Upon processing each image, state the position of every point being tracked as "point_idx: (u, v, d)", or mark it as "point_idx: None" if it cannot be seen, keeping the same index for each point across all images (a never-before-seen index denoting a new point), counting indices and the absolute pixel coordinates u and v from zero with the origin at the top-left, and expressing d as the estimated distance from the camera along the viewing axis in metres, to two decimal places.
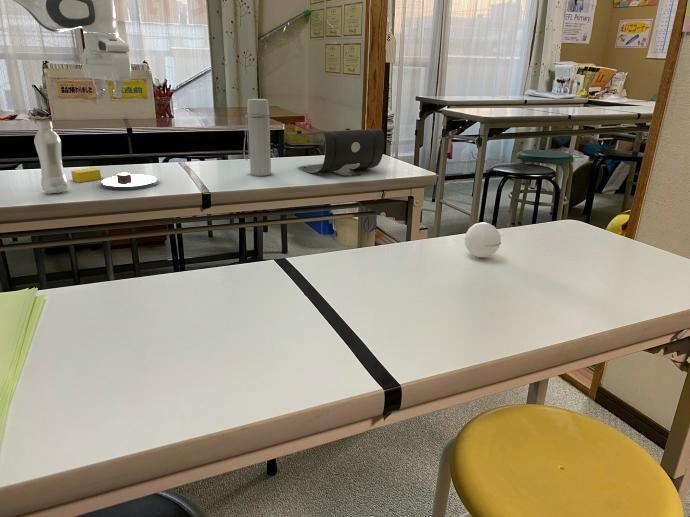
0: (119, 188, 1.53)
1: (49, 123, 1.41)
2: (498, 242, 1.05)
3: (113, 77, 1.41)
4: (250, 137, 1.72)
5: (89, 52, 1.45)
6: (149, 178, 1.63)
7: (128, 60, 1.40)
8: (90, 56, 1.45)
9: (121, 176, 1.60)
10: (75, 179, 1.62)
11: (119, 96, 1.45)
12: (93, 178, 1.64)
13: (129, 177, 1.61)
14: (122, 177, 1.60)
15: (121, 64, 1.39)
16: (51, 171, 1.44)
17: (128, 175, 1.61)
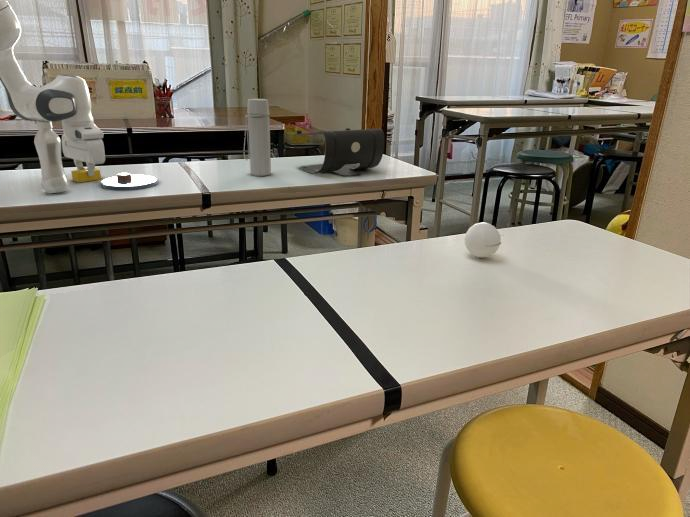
0: (119, 188, 1.53)
1: (49, 123, 1.41)
2: (498, 242, 1.05)
3: (89, 161, 1.56)
4: (250, 137, 1.72)
5: None
6: (149, 178, 1.63)
7: (102, 146, 1.56)
8: (68, 139, 1.61)
9: (121, 176, 1.60)
10: (75, 179, 1.62)
11: (92, 175, 1.62)
12: (93, 178, 1.64)
13: (129, 177, 1.61)
14: (122, 177, 1.60)
15: (96, 150, 1.55)
16: (51, 171, 1.44)
17: (128, 175, 1.61)
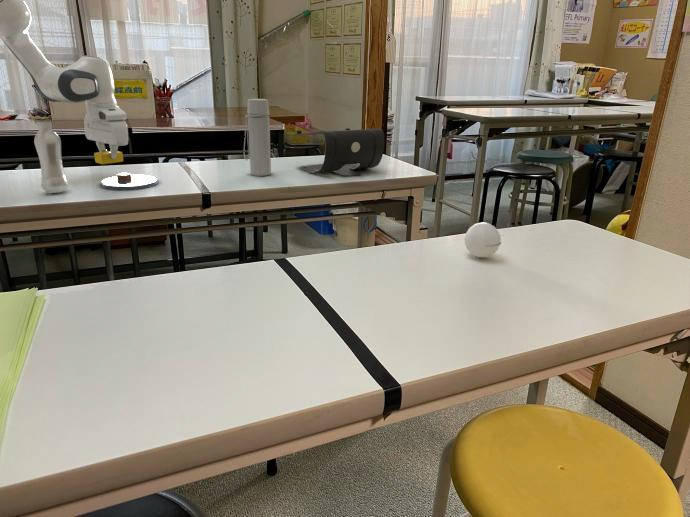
0: (119, 188, 1.53)
1: (49, 123, 1.41)
2: (498, 242, 1.05)
3: (112, 142, 1.57)
4: (250, 137, 1.72)
5: None
6: (149, 178, 1.63)
7: (125, 127, 1.56)
8: (91, 121, 1.61)
9: (121, 176, 1.60)
10: (98, 161, 1.62)
11: (114, 157, 1.62)
12: (116, 160, 1.64)
13: (129, 177, 1.61)
14: (122, 177, 1.60)
15: (119, 131, 1.55)
16: (51, 171, 1.44)
17: (128, 175, 1.61)
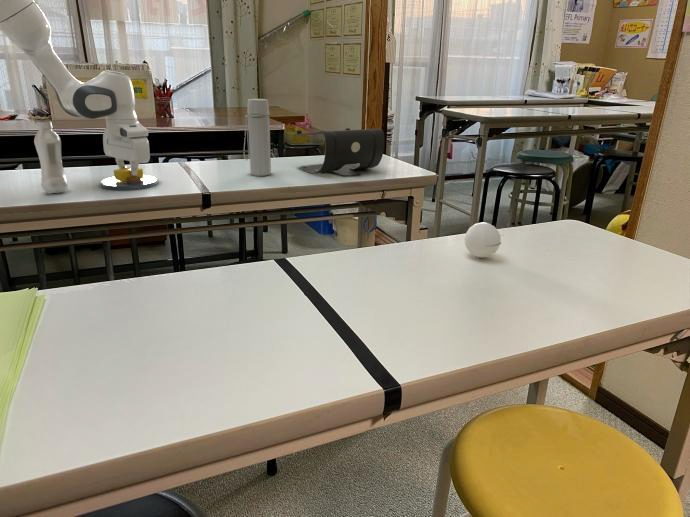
0: (119, 188, 1.53)
1: (49, 123, 1.41)
2: (498, 242, 1.05)
3: (133, 159, 1.52)
4: (250, 137, 1.72)
5: None
6: (149, 178, 1.63)
7: (147, 144, 1.52)
8: (111, 138, 1.56)
9: (130, 179, 1.56)
10: (118, 178, 1.57)
11: (135, 174, 1.57)
12: None
13: (138, 181, 1.57)
14: (130, 180, 1.56)
15: (141, 148, 1.50)
16: (51, 171, 1.44)
17: (137, 179, 1.56)
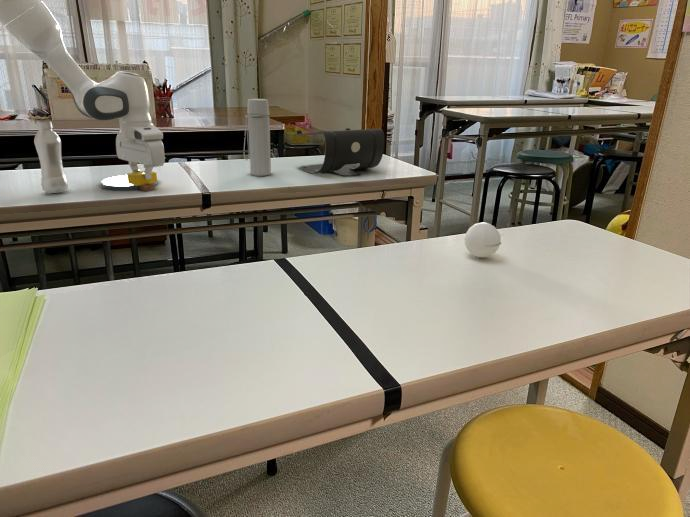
0: (119, 188, 1.53)
1: (49, 123, 1.41)
2: (498, 242, 1.05)
3: (148, 163, 1.48)
4: (250, 137, 1.72)
5: None
6: None
7: (162, 147, 1.47)
8: (124, 140, 1.52)
9: (142, 187, 1.53)
10: (131, 182, 1.53)
11: (149, 178, 1.53)
12: (150, 181, 1.55)
13: (151, 188, 1.54)
14: (143, 188, 1.52)
15: (156, 151, 1.46)
16: (51, 171, 1.44)
17: (150, 186, 1.53)
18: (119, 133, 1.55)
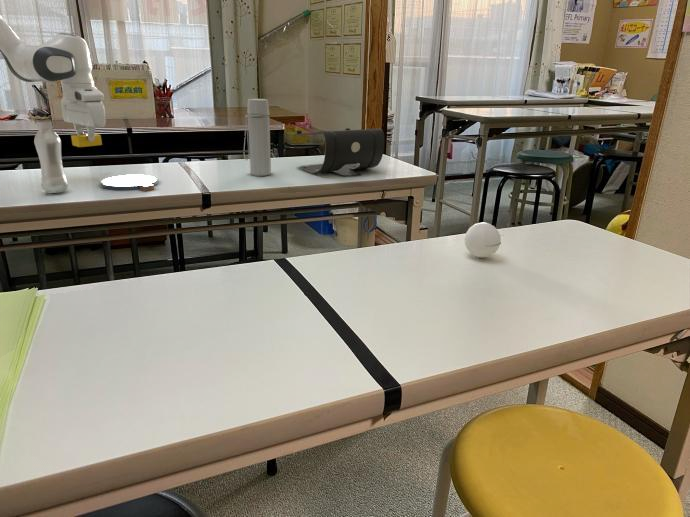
0: (119, 188, 1.53)
1: (49, 123, 1.41)
2: (498, 242, 1.05)
3: (89, 124, 1.51)
4: (250, 137, 1.72)
5: (67, 99, 1.56)
6: (149, 178, 1.63)
7: (103, 108, 1.51)
8: (68, 103, 1.56)
9: (142, 187, 1.53)
10: (75, 144, 1.57)
11: (92, 140, 1.57)
12: (94, 143, 1.59)
13: (151, 188, 1.54)
14: (143, 188, 1.52)
15: (96, 112, 1.50)
16: (51, 171, 1.44)
17: (150, 186, 1.53)
18: None
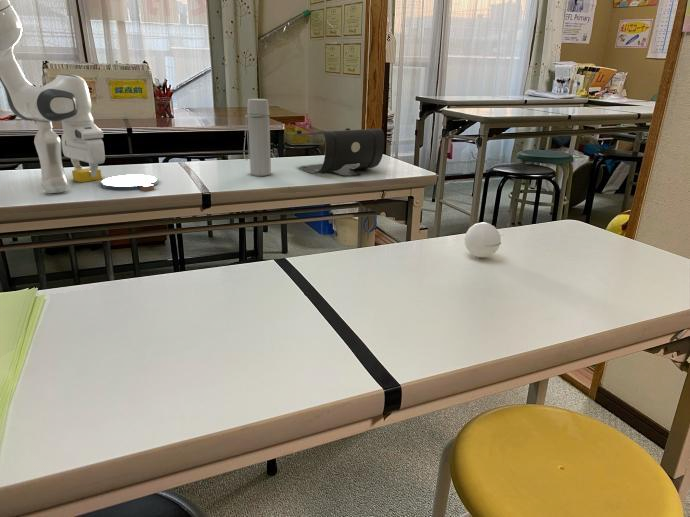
0: (119, 188, 1.53)
1: (49, 123, 1.41)
2: (498, 242, 1.05)
3: (88, 160, 1.56)
4: (250, 137, 1.72)
5: None
6: (149, 178, 1.63)
7: (102, 145, 1.56)
8: (68, 139, 1.61)
9: (142, 187, 1.53)
10: (76, 178, 1.62)
11: (94, 175, 1.61)
12: (94, 178, 1.64)
13: (151, 188, 1.54)
14: (143, 188, 1.52)
15: (96, 149, 1.55)
16: (51, 171, 1.44)
17: (150, 186, 1.53)
18: None
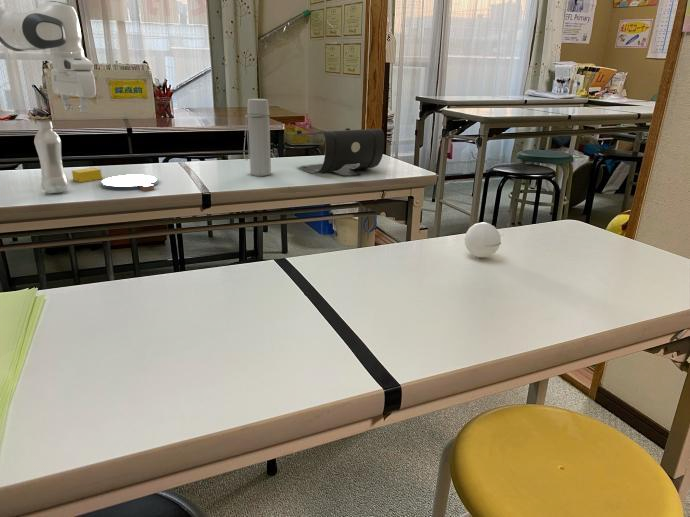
0: (119, 188, 1.53)
1: (49, 123, 1.41)
2: (498, 242, 1.05)
3: (78, 94, 1.49)
4: (250, 137, 1.72)
5: (57, 70, 1.54)
6: (149, 178, 1.63)
7: (92, 78, 1.49)
8: (58, 73, 1.54)
9: (142, 187, 1.53)
10: (76, 178, 1.62)
11: (85, 111, 1.54)
12: (94, 178, 1.64)
13: (151, 188, 1.54)
14: (143, 188, 1.52)
15: (86, 81, 1.48)
16: (51, 171, 1.44)
17: (150, 186, 1.53)
18: None
